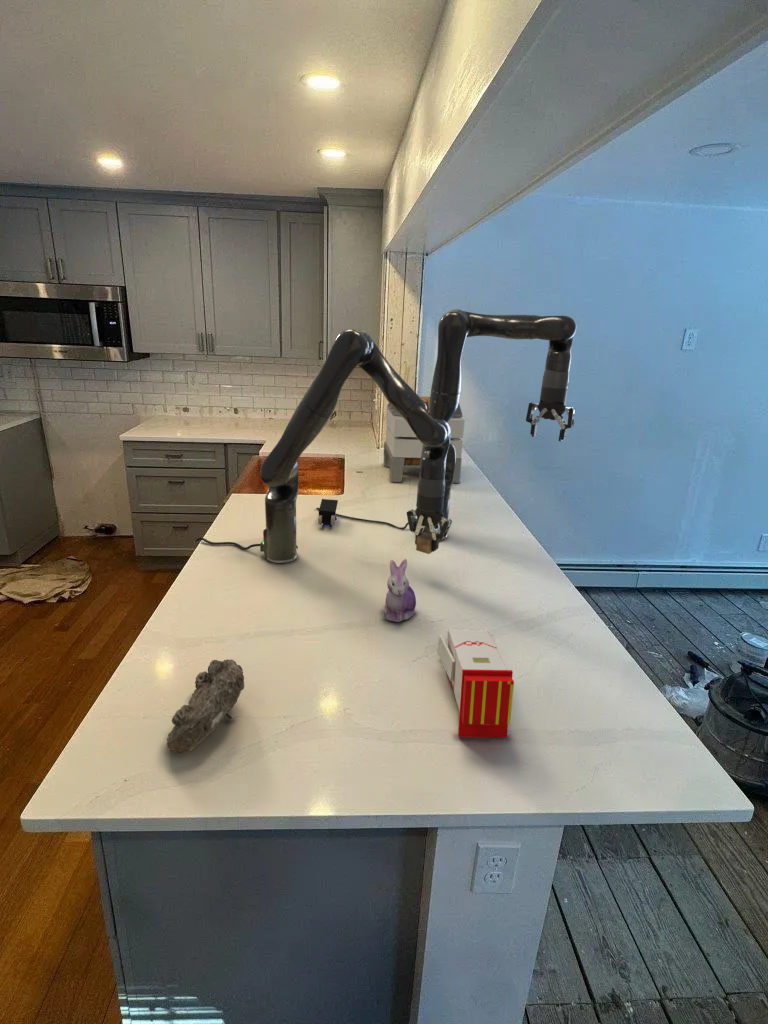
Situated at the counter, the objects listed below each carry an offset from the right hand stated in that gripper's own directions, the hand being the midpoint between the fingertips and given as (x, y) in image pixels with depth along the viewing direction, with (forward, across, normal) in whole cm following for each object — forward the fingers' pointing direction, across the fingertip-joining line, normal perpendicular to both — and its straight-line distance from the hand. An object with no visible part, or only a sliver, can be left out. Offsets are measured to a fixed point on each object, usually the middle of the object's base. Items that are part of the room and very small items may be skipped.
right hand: (547, 438), depth 176 cm
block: (+29, -18, -40) cm, 53 cm away
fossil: (+39, -20, -116) cm, 124 cm away
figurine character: (+39, -68, -23) cm, 82 cm away
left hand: (+28, -18, -40) cm, 52 cm away
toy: (+39, +16, -79) cm, 89 cm away
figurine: (+39, -13, -61) cm, 74 cm away
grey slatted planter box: (+39, -78, +58) cm, 105 cm away
